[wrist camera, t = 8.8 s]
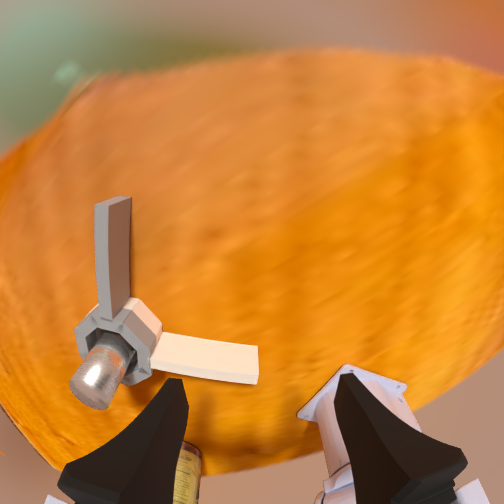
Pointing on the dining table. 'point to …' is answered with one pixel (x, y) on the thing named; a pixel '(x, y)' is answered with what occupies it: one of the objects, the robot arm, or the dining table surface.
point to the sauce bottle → (187, 475)
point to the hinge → (149, 316)
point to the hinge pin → (102, 370)
